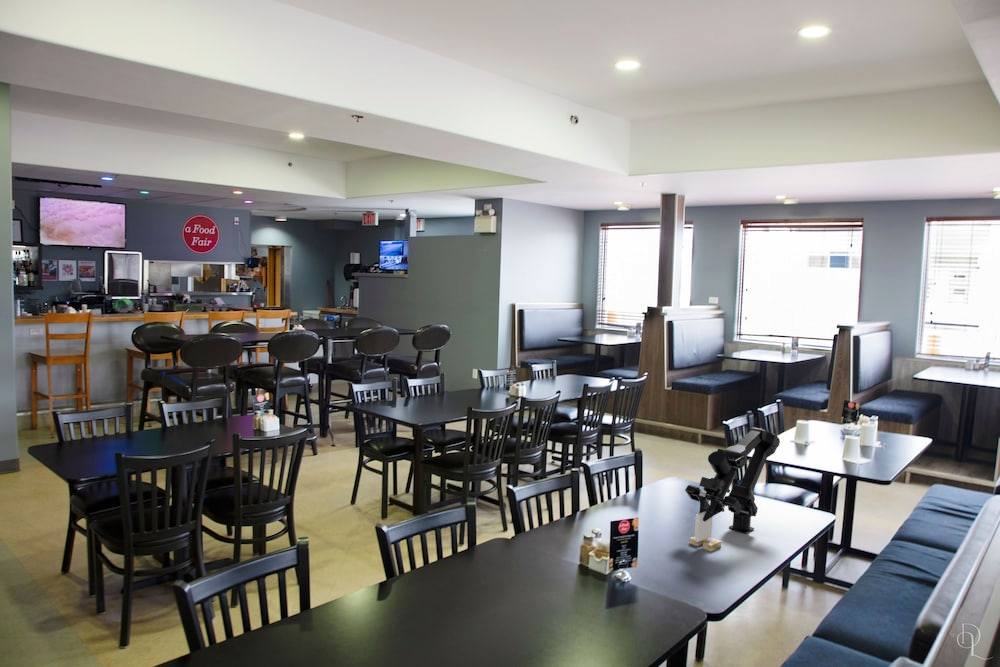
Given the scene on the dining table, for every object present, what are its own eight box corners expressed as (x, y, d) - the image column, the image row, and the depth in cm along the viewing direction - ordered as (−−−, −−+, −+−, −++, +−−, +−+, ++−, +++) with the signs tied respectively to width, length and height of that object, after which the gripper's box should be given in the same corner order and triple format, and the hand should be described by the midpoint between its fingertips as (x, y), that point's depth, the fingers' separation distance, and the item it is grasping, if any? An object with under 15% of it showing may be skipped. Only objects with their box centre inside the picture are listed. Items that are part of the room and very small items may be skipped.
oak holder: (699, 539, 235) (700, 533, 234) (721, 547, 228) (721, 541, 228) (689, 543, 231) (689, 537, 231) (710, 551, 225) (711, 545, 224)
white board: (708, 535, 231) (709, 509, 231) (711, 536, 230) (712, 510, 230) (694, 541, 226) (695, 514, 225) (697, 542, 225) (698, 515, 224)
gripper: (689, 461, 236) (668, 499, 230) (738, 474, 222) (717, 515, 216) (701, 479, 242) (681, 516, 236) (750, 494, 227) (730, 533, 221)
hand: (701, 520), depth 227 cm, fingers closed on white board, 1 cm apart
